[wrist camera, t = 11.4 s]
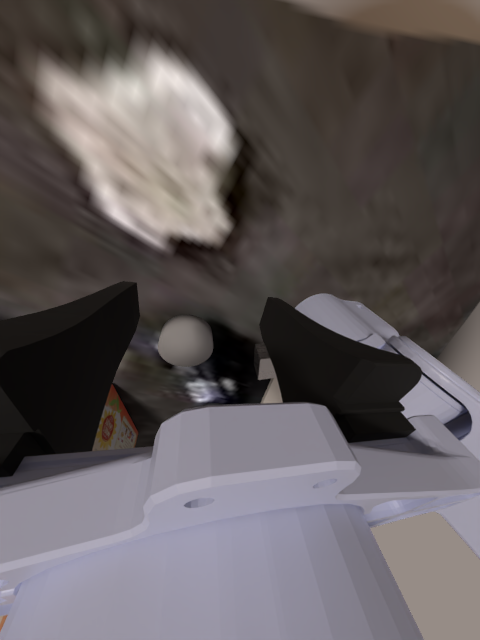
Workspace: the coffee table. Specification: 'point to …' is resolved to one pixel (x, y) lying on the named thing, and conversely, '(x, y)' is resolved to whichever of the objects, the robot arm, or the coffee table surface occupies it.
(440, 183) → the coffee table surface
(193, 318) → the matte grey ellipsoid
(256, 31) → the coffee table surface
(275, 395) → the ceramic tile
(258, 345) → the metal tin
